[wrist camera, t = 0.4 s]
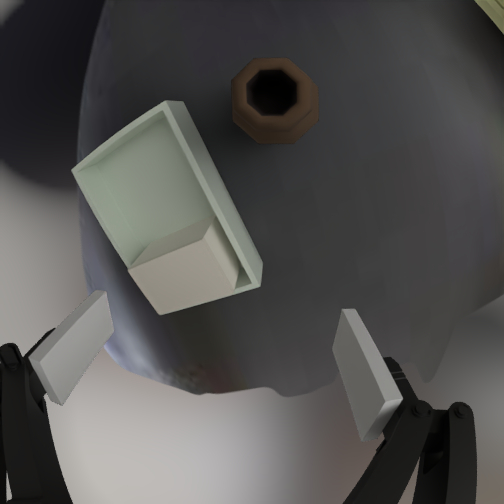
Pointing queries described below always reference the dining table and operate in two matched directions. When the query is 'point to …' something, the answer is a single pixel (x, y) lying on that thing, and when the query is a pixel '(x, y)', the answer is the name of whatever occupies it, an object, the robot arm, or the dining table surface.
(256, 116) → the beer bottle
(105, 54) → the dining table surface
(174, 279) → the off-white rectangular block
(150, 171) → the tote
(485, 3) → the slatted curved stool
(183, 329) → the dining table surface
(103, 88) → the dining table surface
